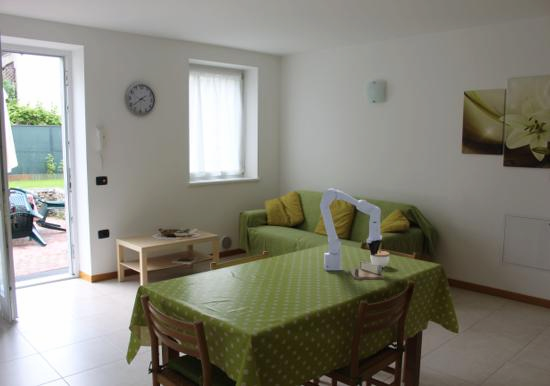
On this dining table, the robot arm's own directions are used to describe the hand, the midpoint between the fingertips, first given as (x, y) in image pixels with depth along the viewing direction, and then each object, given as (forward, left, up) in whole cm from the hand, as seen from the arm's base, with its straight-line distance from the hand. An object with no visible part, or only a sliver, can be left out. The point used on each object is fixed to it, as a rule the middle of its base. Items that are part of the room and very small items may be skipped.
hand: (374, 254), depth 262 cm
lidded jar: (+6, +10, -10) cm, 15 cm away
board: (-6, -7, -9) cm, 13 cm away
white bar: (-3, -5, -8) cm, 10 cm away
